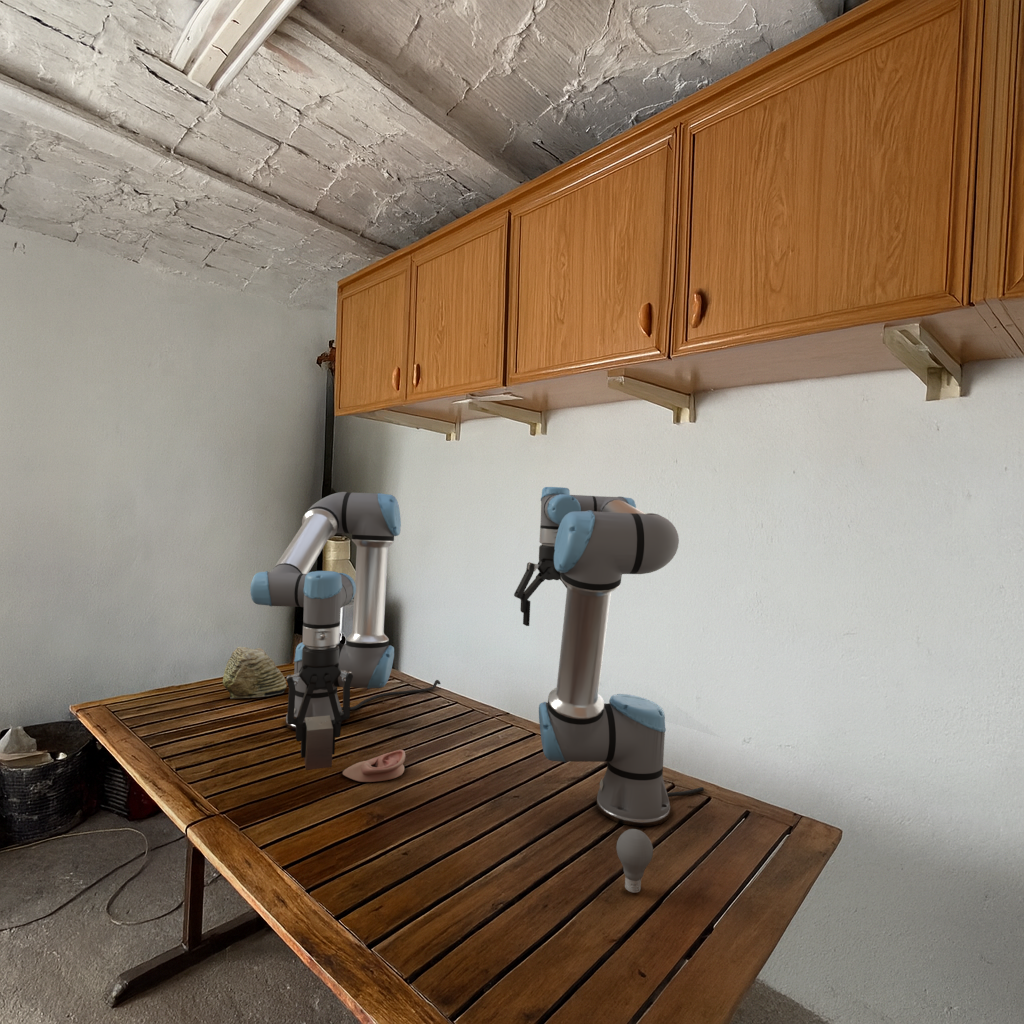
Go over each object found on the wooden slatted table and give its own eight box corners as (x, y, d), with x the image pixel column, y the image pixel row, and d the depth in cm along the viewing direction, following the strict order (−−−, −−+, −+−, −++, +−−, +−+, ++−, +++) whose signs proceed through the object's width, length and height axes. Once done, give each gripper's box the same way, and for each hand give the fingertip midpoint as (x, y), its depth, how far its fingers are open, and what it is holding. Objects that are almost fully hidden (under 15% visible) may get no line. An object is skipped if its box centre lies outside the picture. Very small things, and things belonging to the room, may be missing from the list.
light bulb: (610, 879, 108) (613, 822, 108) (644, 879, 109) (647, 822, 109) (619, 902, 102) (622, 840, 102) (655, 901, 103) (658, 840, 103)
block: (305, 770, 130) (306, 730, 130) (303, 755, 137) (304, 717, 137) (331, 767, 132) (333, 727, 132) (328, 752, 139) (329, 715, 138)
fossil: (218, 695, 195) (220, 647, 195) (278, 685, 208) (279, 640, 207) (228, 703, 189) (230, 653, 188) (289, 692, 201) (290, 645, 201)
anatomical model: (336, 761, 142) (359, 742, 153) (336, 778, 142) (358, 758, 153) (392, 768, 139) (411, 749, 151) (391, 786, 139) (410, 765, 151)
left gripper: (275, 652, 127) (271, 766, 128) (367, 647, 133) (363, 755, 134) (274, 642, 134) (271, 751, 135) (362, 638, 140) (359, 742, 141)
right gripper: (514, 545, 161) (510, 628, 161) (601, 546, 169) (598, 625, 170) (504, 543, 168) (501, 622, 168) (589, 544, 176) (585, 620, 177)
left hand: (317, 753), depth 134 cm, fingers closed on block, 5 cm apart
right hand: (549, 624), depth 169 cm, fingers open, 13 cm apart
